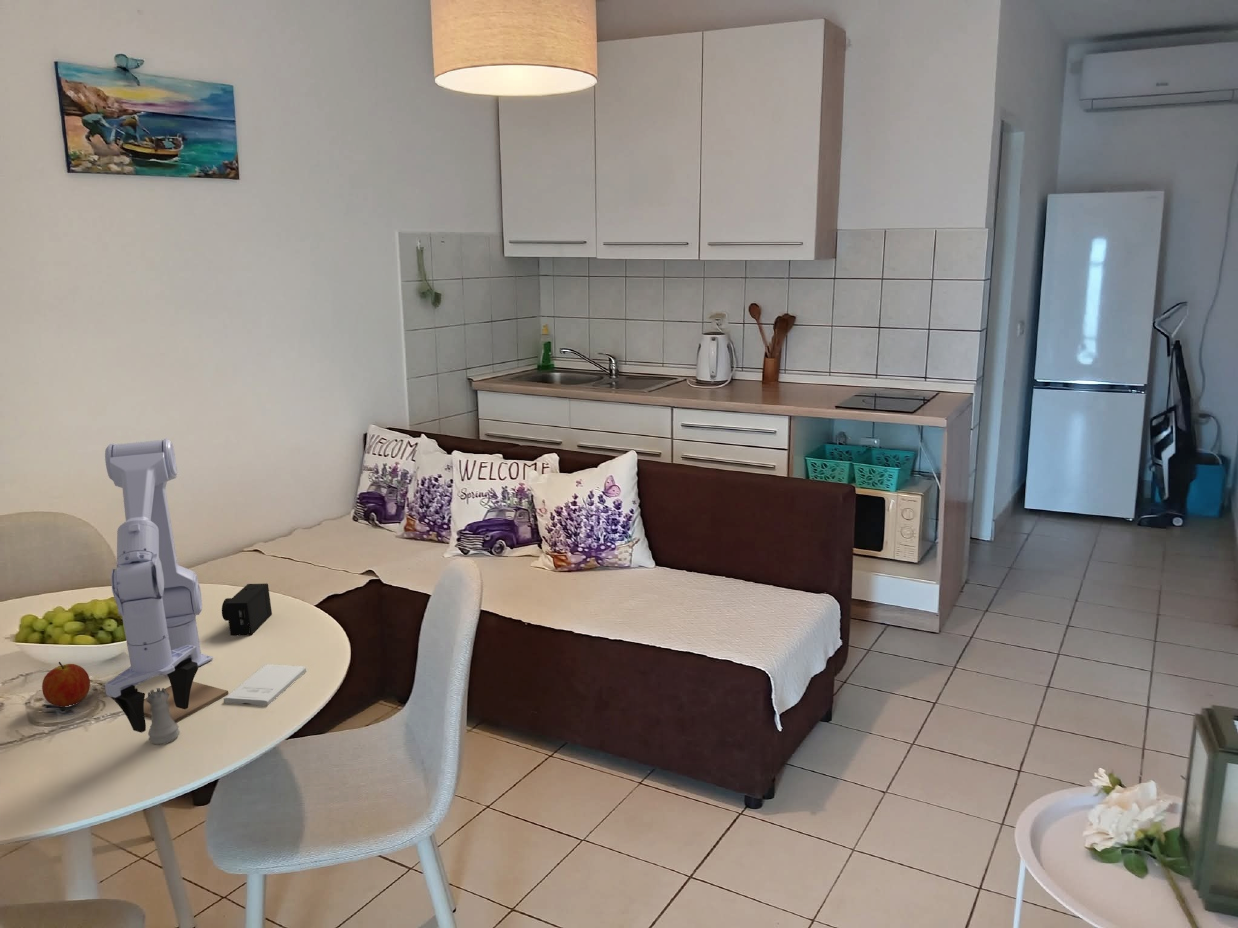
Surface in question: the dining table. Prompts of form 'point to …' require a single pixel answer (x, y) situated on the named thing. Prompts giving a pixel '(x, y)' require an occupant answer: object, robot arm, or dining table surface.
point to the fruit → (66, 685)
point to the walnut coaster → (190, 700)
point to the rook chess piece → (161, 719)
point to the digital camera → (247, 609)
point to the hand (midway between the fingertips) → (161, 718)
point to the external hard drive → (265, 685)
